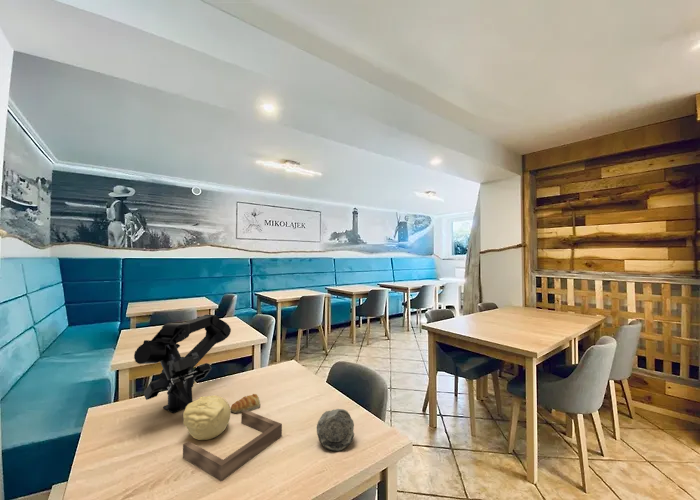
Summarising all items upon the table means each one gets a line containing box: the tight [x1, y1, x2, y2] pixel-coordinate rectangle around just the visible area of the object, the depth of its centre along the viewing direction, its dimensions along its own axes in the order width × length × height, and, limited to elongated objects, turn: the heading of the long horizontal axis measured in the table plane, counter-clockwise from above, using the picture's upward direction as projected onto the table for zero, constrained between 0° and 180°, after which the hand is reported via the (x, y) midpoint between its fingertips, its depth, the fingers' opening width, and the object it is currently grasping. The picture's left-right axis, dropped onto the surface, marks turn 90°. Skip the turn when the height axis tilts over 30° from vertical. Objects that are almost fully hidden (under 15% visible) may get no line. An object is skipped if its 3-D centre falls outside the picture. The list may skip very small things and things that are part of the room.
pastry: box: [230, 393, 261, 414], centre depth 102 cm, size 9×7×4 cm
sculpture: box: [182, 394, 231, 441], centre depth 88 cm, size 11×12×11 cm
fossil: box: [316, 408, 355, 452], centre depth 85 cm, size 11×9×10 cm
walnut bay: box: [182, 410, 283, 482], centre depth 82 cm, size 16×20×4 cm
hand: (190, 403), depth 92 cm, fingers closed
